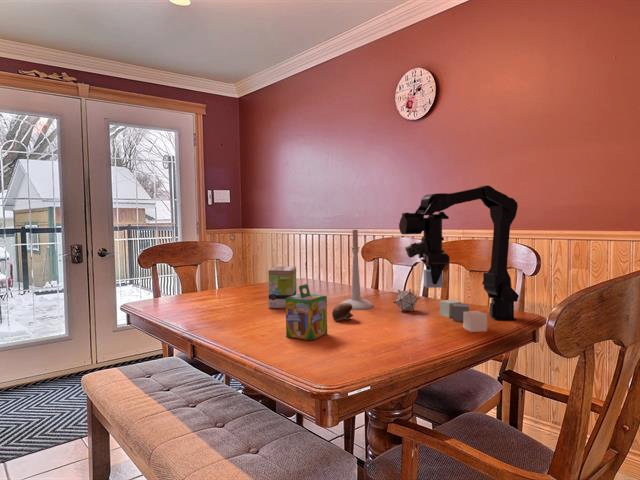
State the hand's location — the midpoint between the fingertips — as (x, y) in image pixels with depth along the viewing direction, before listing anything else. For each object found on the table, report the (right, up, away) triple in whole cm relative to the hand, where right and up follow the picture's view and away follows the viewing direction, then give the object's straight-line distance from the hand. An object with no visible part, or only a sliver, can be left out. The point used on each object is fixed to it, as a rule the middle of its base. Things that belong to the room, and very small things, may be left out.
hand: (433, 283), depth 134 cm
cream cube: (+11, -13, -7) cm, 18 cm away
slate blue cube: (0, -1, 0) cm, 1 cm away
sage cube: (+9, -12, +11) cm, 19 cm away
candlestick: (-22, -12, +29) cm, 38 cm away
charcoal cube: (+11, -13, +5) cm, 17 cm away
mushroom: (-28, -13, +8) cm, 32 cm away
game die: (-5, -12, +19) cm, 23 cm away
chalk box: (-40, -15, -11) cm, 43 cm away
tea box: (-51, -12, +35) cm, 63 cm away
